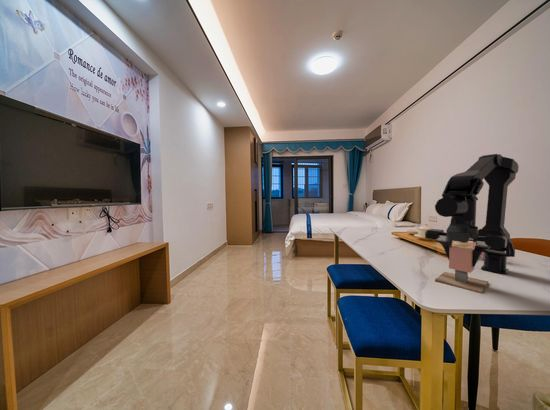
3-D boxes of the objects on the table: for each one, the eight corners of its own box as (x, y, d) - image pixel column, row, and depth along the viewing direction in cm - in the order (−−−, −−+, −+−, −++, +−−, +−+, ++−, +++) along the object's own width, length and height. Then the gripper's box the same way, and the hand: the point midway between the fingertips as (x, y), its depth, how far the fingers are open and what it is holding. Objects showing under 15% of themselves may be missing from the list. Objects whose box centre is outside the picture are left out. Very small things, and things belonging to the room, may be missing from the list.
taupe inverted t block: (444, 273, 75) (445, 253, 75) (488, 283, 67) (489, 261, 66) (434, 281, 69) (435, 259, 68) (481, 293, 60) (482, 268, 60)
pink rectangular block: (453, 264, 71) (453, 245, 71) (474, 269, 67) (475, 248, 67) (448, 268, 68) (449, 247, 68) (470, 272, 64) (471, 251, 64)
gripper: (419, 214, 69) (418, 262, 70) (503, 219, 54) (501, 279, 55) (431, 212, 76) (430, 256, 77) (508, 216, 61) (506, 270, 62)
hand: (461, 264), depth 67 cm, fingers closed on pink rectangular block, 5 cm apart
